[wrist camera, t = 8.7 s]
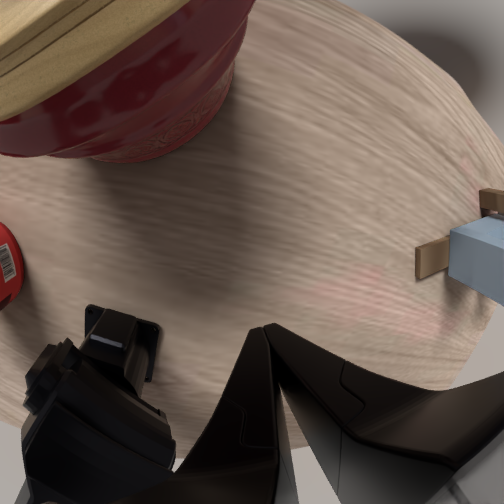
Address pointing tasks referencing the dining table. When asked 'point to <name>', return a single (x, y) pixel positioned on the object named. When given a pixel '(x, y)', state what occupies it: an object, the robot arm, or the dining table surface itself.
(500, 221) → the light blue l-shaped block
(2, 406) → the dining table surface
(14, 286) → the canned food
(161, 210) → the dining table surface
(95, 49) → the canister
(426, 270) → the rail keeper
